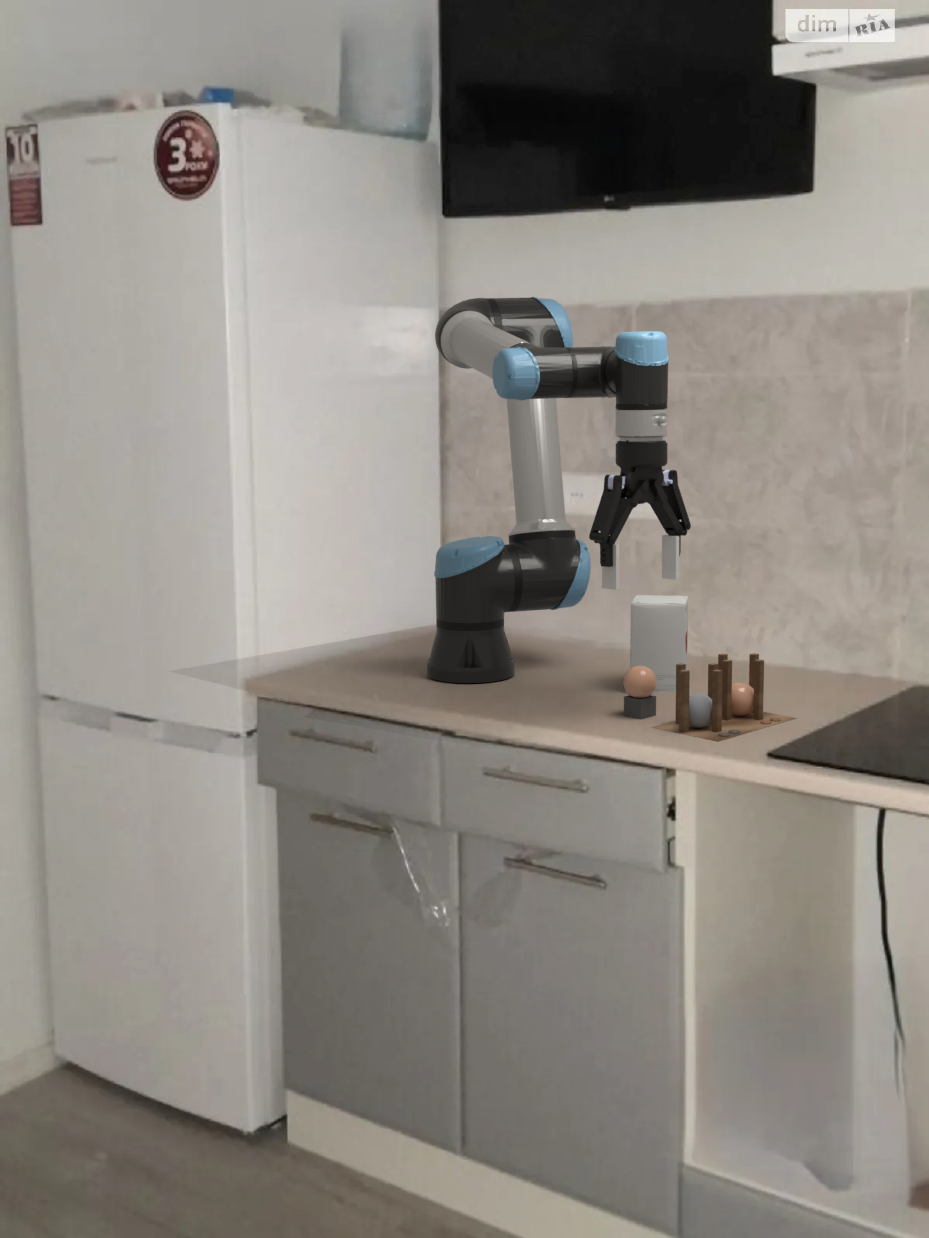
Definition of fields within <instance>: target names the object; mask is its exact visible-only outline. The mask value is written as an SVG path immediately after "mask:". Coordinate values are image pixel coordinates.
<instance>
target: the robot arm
mask: <svg viewBox="0 0 929 1238" xmlns="http://www.w3.org/2000/svg"><path fill="white" fill-rule="evenodd" d="M572 329H573V328H572V325H571V321H570V317H569V316H568V314H567V311H566V309H565V308H564V306H562V304H561V303H560V302H559V301H557V300H555V299H551V298H541V297H540V298H539V297H537V296H536V297H535V296H531V297H498V298H496V297H492V298H489V297H488V298H487V297H477V298H476V297H475V298H468V299H465V300H462V301H460V302H458V303H455V304H453V305H452V306H451V307H449V308H448V309H447V310H446V311H445V312H443V314H442V315H441V316H440V318H439V319H438V322H437V324H436V327H435V331H434V332H435V333H434V340H435V346H436V348H437V351H438V352H439V354H440V355H441V356H442V358H443V359H444V360H445V361H447V362H448V363H450V364H451V365H454V366H455V367H458V368H461V369H470V370H471V369H473V370H475V371H477V372H479V373H481V374H483V375H485V376H487V377H489V378H490V379H491V380H492V383H493V387H494V389H495V390H496V393H497V395H498V396H499V397H500V398H502V399H503V400H504V399H505V400H506V407H507V408H506V409H507V419H508V420H507V423H508V434H509V435H508V436H509V447H510V448H509V449H510V460H511V461H510V462H511V473H512V483H513V484H512V485H513V486H512V487H513V499H514V500H513V501H514V510H515V511H514V512H515V525H514V527H513V528H512V530H511V531H510V532H509V533H508V544H505V542H504V539H503V538H501V537H500V536H494V535H492V536H491V535H487V536H481V537H480V536H475V537H467V538H463V539H458V540H455V541H454V540H453V541H450V542H448V543H445V544H444V545H442V546H441V547H439V548H438V550H437V551H436V554H435V566H434V567H435V568H434V572H433V575H434V577H435V615H436V616H435V617H436V619H435V621H436V625H435V626H436V628H435V629H436V631H435V636H434V639H433V643H432V646H431V652H430V656H429V657H428V658H427V662H426V674H427V675H426V676H427V677H428V678H430V679H431V680H435V681H439V682H444V683H457V684H458V683H459V684H480V683H482V684H483V683H492V682H498V681H499V682H500V681H503V680H506V679H510V678H512V677H514V676H515V673H516V671H515V669H516V668H515V667H516V666H515V665H516V664H515V659H514V657H513V656H512V652H511V648H510V645H509V642H508V637H507V634H506V630H505V613H513V612H529V611H543V610H544V611H545V610H551V611H555V610H559V609H564V608H571V607H572V608H573V607H575V606H576V605H578V604H579V603H580V602H581V601H582V600H583V598H584V597H585V594H586V592H587V590H588V586H589V582H590V577H591V576H590V575H591V569H592V568H591V567H592V566H591V565H592V564H591V554H590V552H589V547H588V545H587V544H586V543H585V542H584V541H583V540H580V539H578V538H576V537H577V536H576V529H575V527H573V526H572V525H571V524H570V523H569V522H568V521H567V519H566V509H565V508H566V507H565V497H564V495H565V494H564V483H563V471H562V459H561V458H562V457H561V445H560V433H559V420H558V407H557V399H583V398H584V399H587V398H588V399H590V398H591V399H592V398H593V399H594V398H595V399H596V398H597V399H598V398H609V399H610V398H611V399H612V398H615V425H614V426H615V429H614V432H615V433H614V435H615V436H616V438H619V440H617V441H616V443H615V465H616V466H617V467H619V469H620V474H606V475H605V476H604V480H603V491H602V494H601V497H600V500H599V504H598V507H597V510H596V512H595V516H594V519H593V521H592V525H591V527H590V528H591V529H590V532H589V536H588V538H589V540H590V541H593V542H594V544H599V556H600V557H599V559H600V560H599V564H600V567H601V589H604V590H605V589H606V590H614V591H617V590H620V588H621V587H620V586H621V585H620V570H621V569H620V568H621V567H620V564H621V561H620V558H621V557H620V555H621V554H620V549H621V548H620V544H616V542H617V540H618V538H619V536H620V535H621V532H622V530H623V529H624V526H625V524H627V523H626V522H627V520H628V519H629V517H630V515H631V512H632V511H633V510H634V508H636V507H637V506H639V505H643V504H645V503H647V504H649V505H650V507H651V509H652V510H653V513H654V514H655V516H656V518H657V520H658V521H659V523H660V524H661V527H662V528H663V530H664V531H665V533H666V534H663V535H661V579H665V580H667V579H668V580H672V581H673V580H674V581H675V580H676V581H677V580H680V556H681V551H682V550H681V546H682V545H681V543H682V542H681V541H682V539H681V538H682V536H683V537H685V536H686V535H688V531H689V530H690V529H691V528H692V527H691V526H692V523H691V521H690V518H689V515H688V512H687V509H686V506H685V502H684V499H683V496H682V493H681V489H680V487H679V486H680V485H679V480H678V471H677V470H675V469H663V467H665V466H666V465H667V464H668V446H669V445H668V442H667V440H665V439H664V437H665V438H666V437H667V436H668V403H669V402H668V398H669V397H668V390H669V386H668V385H669V361H670V356H669V352H668V351H669V350H668V337H667V335H666V334H665V333H664V332H663V331H657V330H656V331H653V330H652V331H651V330H648V331H622V332H619V333H618V334H617V335H616V337H615V346H612V345H608V346H605V345H604V346H578V347H575V346H574V336H573V330H572Z"/></svg>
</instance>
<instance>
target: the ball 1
mask: <svg viewBox="0 0 929 1238" xmlns="http://www.w3.org/2000/svg"><path fill="white" fill-rule="evenodd" d="M711 722H712V699H711V698H710V697H708V694H707V695H706V694H705V693H701V692H698V693H697V692H696V693H693V694H689V725H690V726H692V727H695V728H703V727H706V726H708V725H709V724H710V723H711Z"/></svg>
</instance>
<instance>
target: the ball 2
mask: <svg viewBox="0 0 929 1238" xmlns="http://www.w3.org/2000/svg"><path fill="white" fill-rule="evenodd" d="M753 710H754V689H753V688H752V687H751V686H750V685H749V683H744V682H736V683H732V707H731V714H733V715H736V716H745V715H748V714H750V713H751V712H752V711H753Z"/></svg>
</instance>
